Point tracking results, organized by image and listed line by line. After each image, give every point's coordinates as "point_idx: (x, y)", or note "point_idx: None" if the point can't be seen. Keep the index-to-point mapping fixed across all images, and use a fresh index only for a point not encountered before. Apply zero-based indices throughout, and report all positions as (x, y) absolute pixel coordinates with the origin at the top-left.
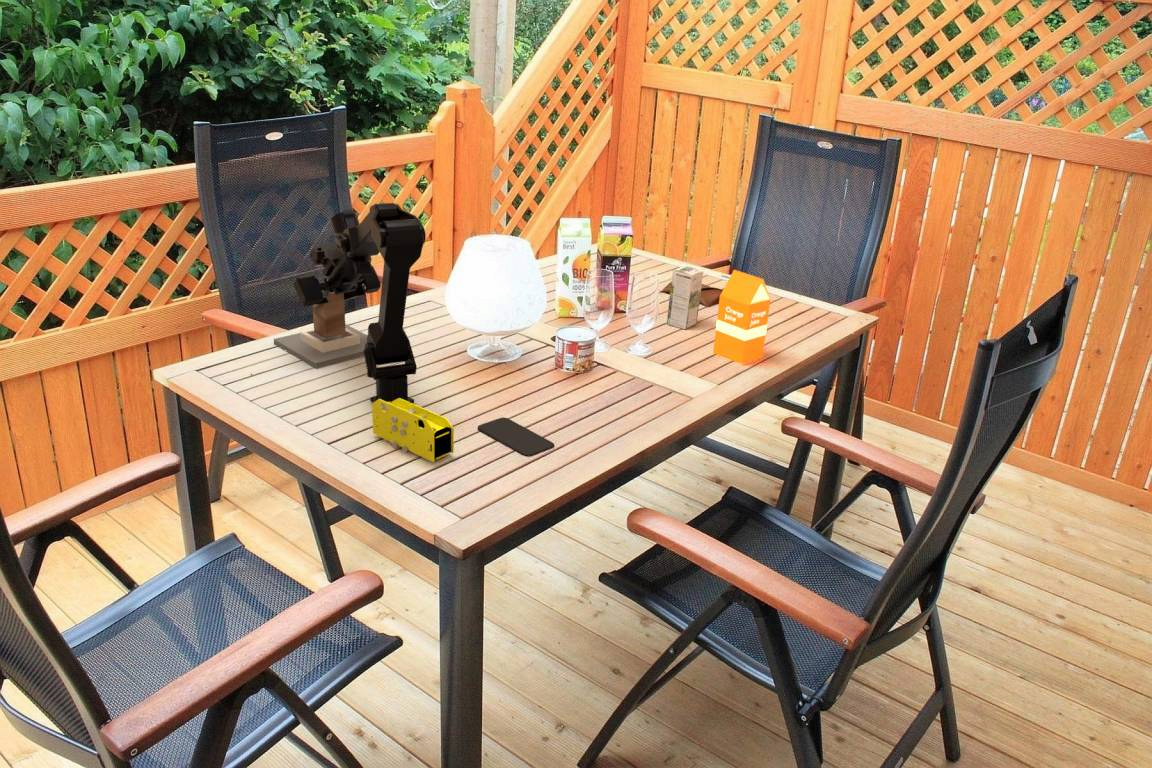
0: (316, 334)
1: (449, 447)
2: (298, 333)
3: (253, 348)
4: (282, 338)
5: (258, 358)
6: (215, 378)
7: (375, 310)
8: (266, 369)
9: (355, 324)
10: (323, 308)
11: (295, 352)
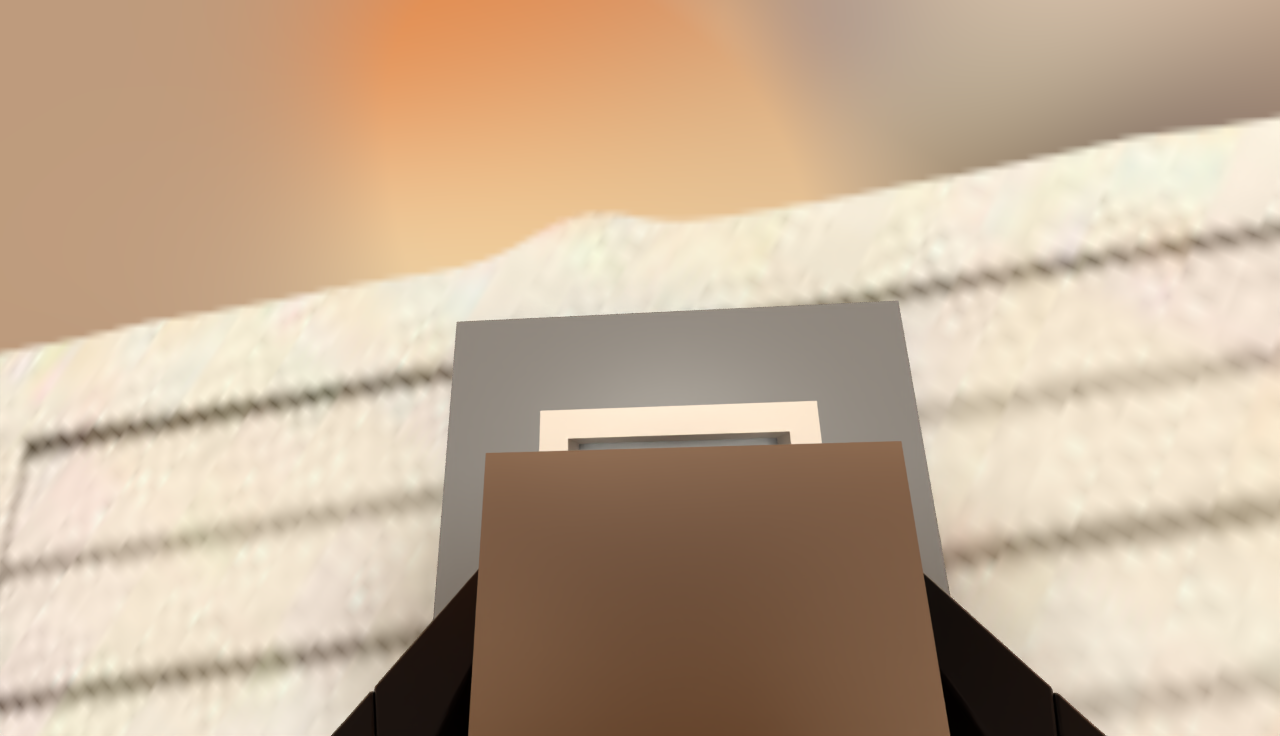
0: (642, 439)
1: None
2: (601, 317)
3: (365, 332)
4: (495, 340)
5: (304, 467)
6: (9, 594)
7: (1166, 164)
8: (239, 640)
9: (968, 297)
10: None
11: (440, 566)
